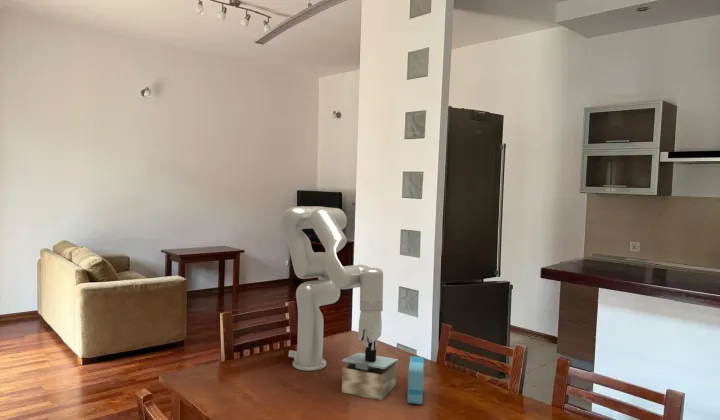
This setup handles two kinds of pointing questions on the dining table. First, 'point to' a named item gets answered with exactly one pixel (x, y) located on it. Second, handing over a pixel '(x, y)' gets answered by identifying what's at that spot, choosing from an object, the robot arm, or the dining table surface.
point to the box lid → (362, 364)
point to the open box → (368, 381)
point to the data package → (415, 380)
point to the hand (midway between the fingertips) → (370, 361)
